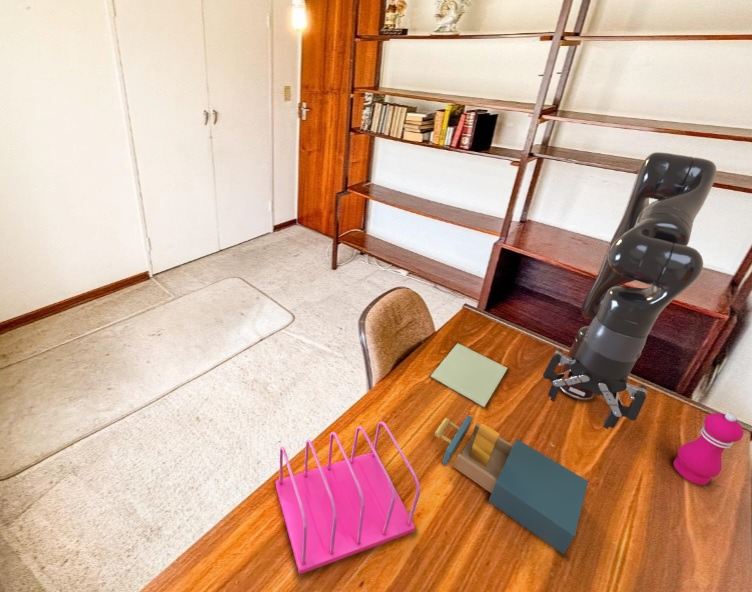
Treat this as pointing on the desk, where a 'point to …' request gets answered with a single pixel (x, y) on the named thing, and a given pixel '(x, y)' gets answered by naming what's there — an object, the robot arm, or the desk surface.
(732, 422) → the pepper mill
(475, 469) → the drawer
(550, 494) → the cabinet
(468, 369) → the mat
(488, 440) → the block
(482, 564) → the desk surface
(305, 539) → the file sorter
